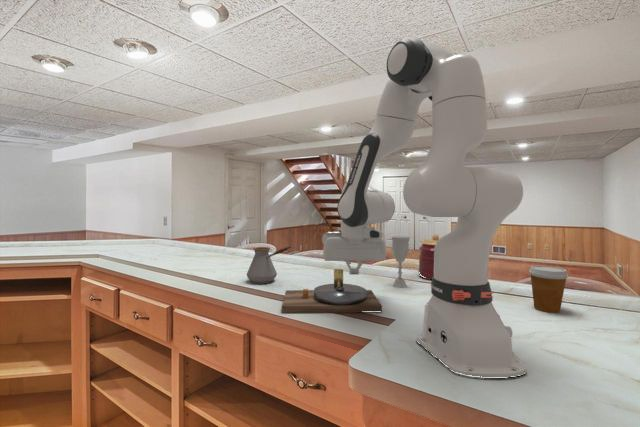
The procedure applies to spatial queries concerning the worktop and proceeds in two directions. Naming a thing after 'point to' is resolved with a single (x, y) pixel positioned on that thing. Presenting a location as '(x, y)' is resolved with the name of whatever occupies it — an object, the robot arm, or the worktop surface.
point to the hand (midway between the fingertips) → (353, 274)
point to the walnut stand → (308, 304)
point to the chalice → (400, 255)
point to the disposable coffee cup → (548, 287)
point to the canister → (427, 257)
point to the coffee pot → (263, 265)
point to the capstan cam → (340, 292)
